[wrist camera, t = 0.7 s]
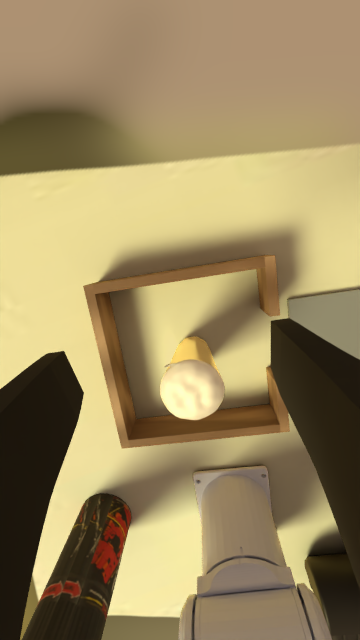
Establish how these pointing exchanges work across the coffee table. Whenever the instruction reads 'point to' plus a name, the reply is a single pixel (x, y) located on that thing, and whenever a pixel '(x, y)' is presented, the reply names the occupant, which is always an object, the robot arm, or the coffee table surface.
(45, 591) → the deodorant
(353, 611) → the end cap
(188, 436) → the open pen
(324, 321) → the mat
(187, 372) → the milkshake
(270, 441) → the coffee table surface
